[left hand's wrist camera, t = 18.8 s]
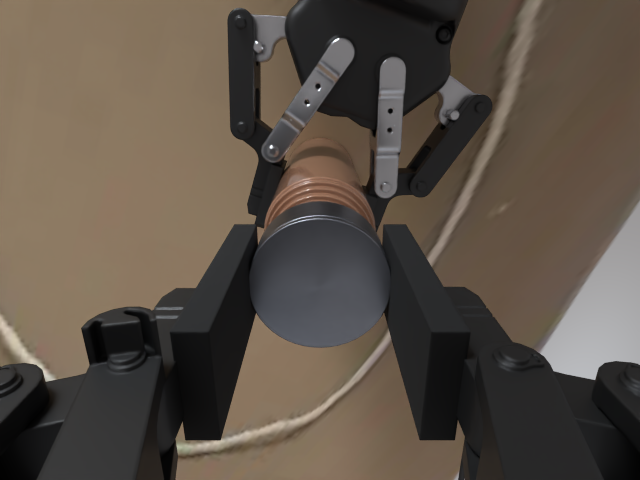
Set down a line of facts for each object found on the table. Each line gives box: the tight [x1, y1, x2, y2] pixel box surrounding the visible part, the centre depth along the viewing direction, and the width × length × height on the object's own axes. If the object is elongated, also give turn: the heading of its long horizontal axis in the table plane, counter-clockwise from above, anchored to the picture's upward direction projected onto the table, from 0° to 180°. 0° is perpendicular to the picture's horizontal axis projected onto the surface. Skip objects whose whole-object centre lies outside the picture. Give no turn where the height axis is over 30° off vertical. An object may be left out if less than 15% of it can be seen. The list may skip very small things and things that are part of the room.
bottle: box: [264, 138, 376, 231], centre depth 21 cm, size 5×5×17 cm
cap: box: [249, 201, 391, 348], centre depth 14 cm, size 4×4×2 cm
